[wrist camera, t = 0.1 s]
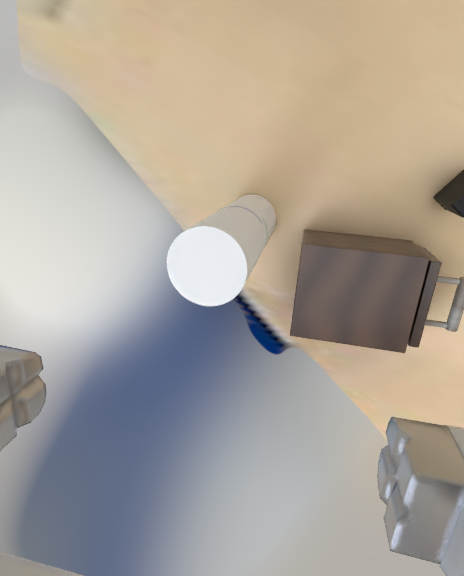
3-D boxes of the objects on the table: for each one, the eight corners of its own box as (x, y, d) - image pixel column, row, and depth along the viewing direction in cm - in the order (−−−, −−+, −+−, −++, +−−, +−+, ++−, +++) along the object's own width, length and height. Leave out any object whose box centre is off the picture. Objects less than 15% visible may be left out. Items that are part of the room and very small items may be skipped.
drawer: (462, 251, 50) (485, 267, 43) (440, 328, 54) (458, 353, 47) (323, 237, 53) (324, 249, 46) (312, 310, 57) (311, 331, 50)
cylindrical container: (253, 183, 54) (206, 207, 31) (286, 221, 54) (264, 272, 31) (218, 217, 56) (150, 262, 33) (250, 252, 57) (206, 321, 34)
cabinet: (411, 240, 52) (429, 257, 43) (391, 323, 56) (405, 353, 48) (304, 229, 54) (302, 243, 46) (293, 309, 59) (289, 335, 50)
